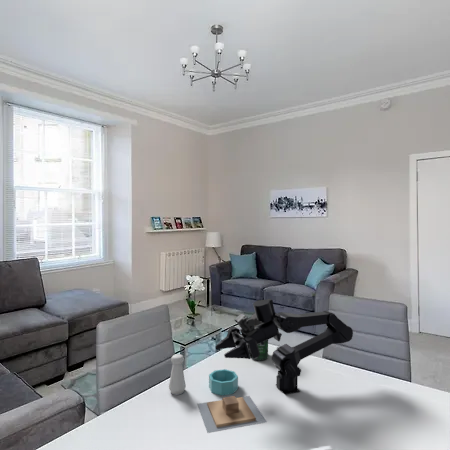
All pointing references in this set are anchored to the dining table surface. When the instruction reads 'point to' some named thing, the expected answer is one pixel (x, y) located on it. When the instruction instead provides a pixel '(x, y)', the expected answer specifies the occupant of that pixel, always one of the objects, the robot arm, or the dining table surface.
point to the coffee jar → (262, 348)
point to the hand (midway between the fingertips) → (220, 351)
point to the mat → (212, 427)
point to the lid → (230, 411)
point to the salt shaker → (177, 375)
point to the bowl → (223, 382)
